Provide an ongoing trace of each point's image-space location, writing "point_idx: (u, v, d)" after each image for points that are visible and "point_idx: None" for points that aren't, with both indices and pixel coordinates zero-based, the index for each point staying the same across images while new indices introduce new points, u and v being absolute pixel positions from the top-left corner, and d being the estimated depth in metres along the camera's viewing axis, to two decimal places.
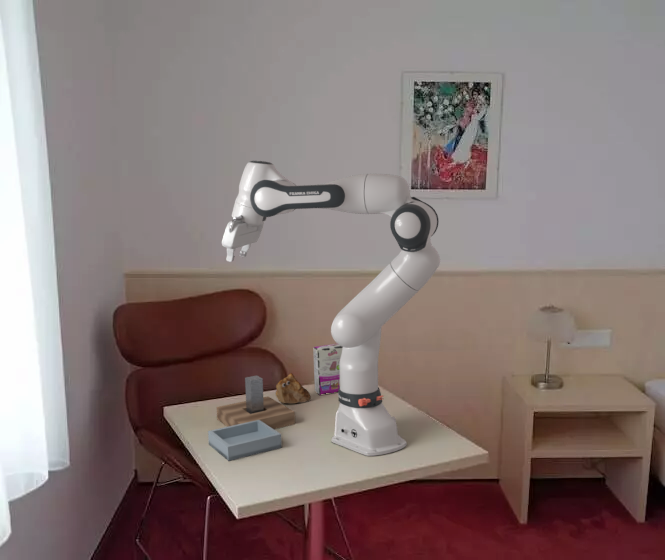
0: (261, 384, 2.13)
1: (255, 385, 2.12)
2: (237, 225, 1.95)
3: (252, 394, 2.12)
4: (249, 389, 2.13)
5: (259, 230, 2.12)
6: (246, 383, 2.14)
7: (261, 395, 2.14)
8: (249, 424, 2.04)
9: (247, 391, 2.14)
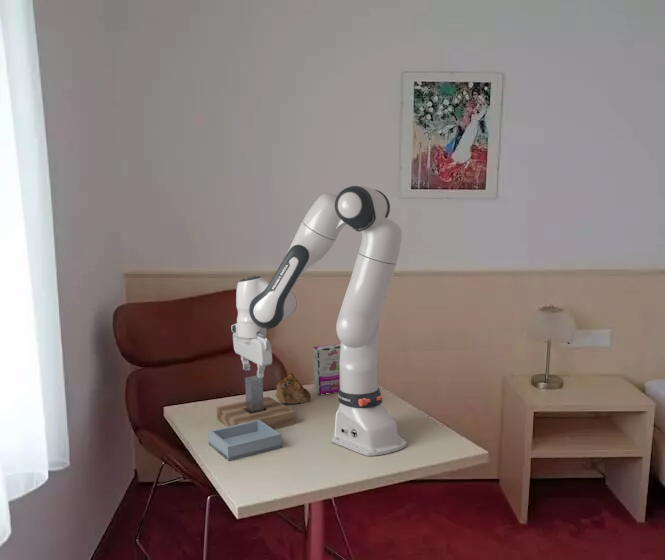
0: (261, 383, 2.13)
1: (255, 385, 2.12)
2: (268, 341, 2.05)
3: (252, 393, 2.12)
4: (249, 389, 2.13)
5: None
6: (246, 383, 2.14)
7: (261, 395, 2.14)
8: (249, 424, 2.04)
9: (247, 391, 2.14)
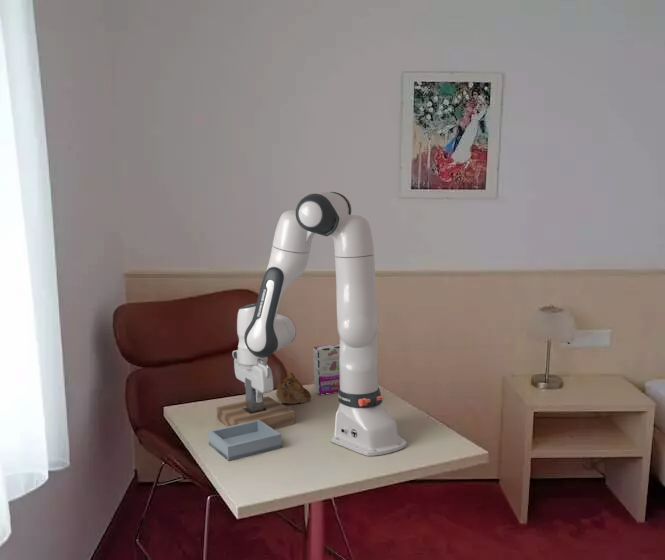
0: None
1: None
2: (269, 368, 2.06)
3: (252, 394, 2.12)
4: (249, 389, 2.13)
5: None
6: (246, 383, 2.14)
7: None
8: (249, 424, 2.04)
9: (247, 391, 2.14)
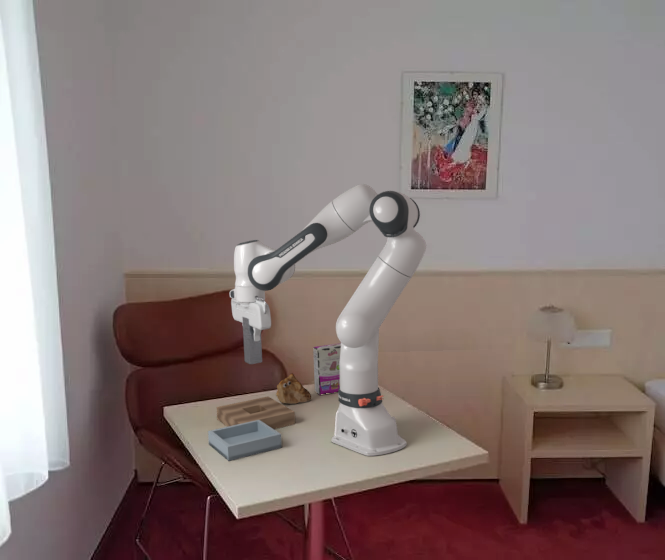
0: None
1: None
2: (267, 304, 2.03)
3: (250, 332, 2.09)
4: (246, 328, 2.10)
5: None
6: (243, 322, 2.11)
7: None
8: (249, 424, 2.04)
9: (245, 330, 2.11)
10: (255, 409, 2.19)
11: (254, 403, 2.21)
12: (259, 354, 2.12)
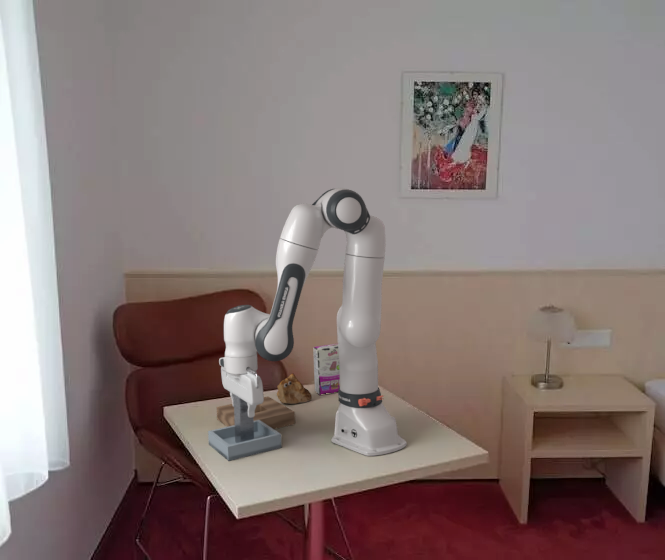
0: None
1: (244, 403, 1.92)
2: (259, 378, 1.87)
3: (241, 413, 1.92)
4: (237, 408, 1.93)
5: None
6: (235, 401, 1.94)
7: None
8: None
9: (236, 409, 1.94)
10: (255, 409, 2.19)
11: None
12: (251, 435, 1.95)
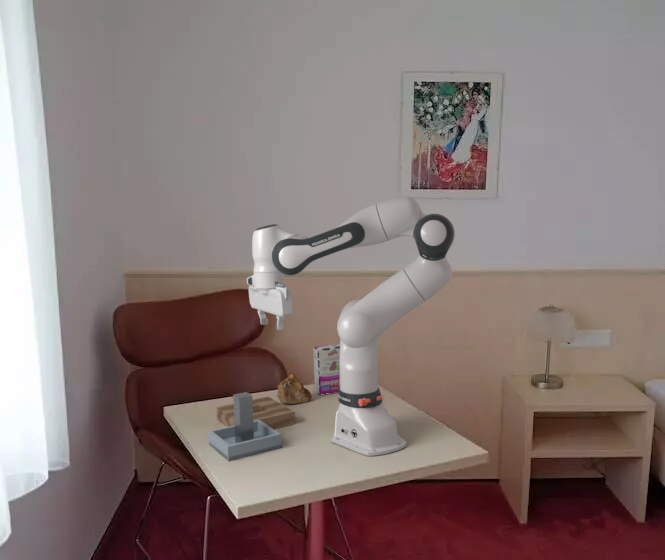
0: (251, 401, 1.94)
1: (244, 403, 1.93)
2: (288, 290, 1.97)
3: (241, 412, 1.92)
4: (237, 408, 1.93)
5: None
6: (234, 401, 1.94)
7: (251, 414, 1.94)
8: None
9: (235, 409, 1.94)
10: (255, 409, 2.19)
11: (254, 403, 2.21)
12: (251, 435, 1.95)
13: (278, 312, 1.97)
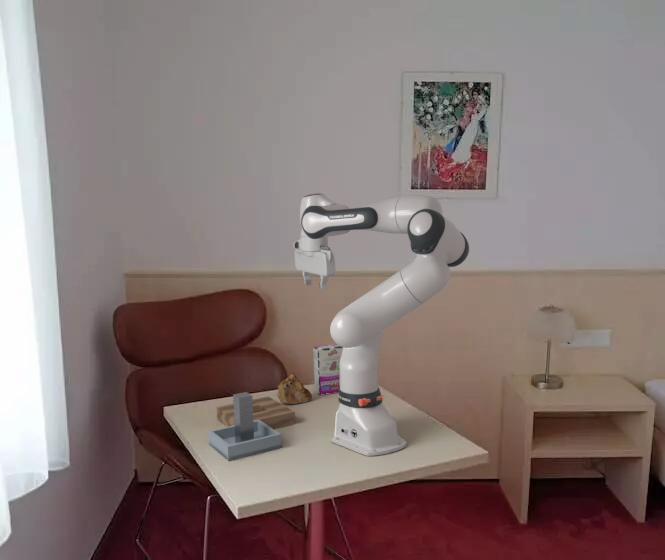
0: (251, 401, 1.94)
1: (244, 403, 1.93)
2: (331, 253, 2.18)
3: (241, 412, 1.92)
4: (237, 408, 1.93)
5: None
6: (234, 401, 1.94)
7: (251, 414, 1.94)
8: None
9: (235, 409, 1.94)
10: (255, 409, 2.19)
11: (254, 403, 2.21)
12: (251, 435, 1.95)
13: (322, 272, 2.18)
